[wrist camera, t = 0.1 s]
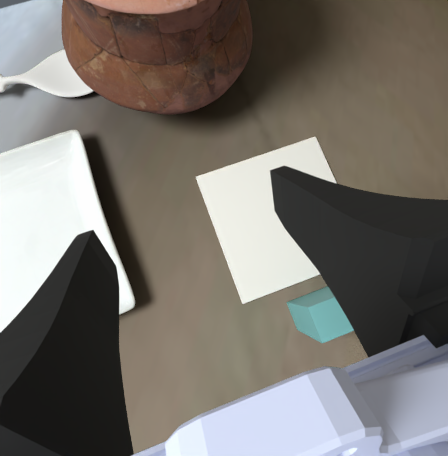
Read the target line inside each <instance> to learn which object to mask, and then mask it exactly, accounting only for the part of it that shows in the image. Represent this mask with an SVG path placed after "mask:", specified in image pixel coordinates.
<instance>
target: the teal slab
mask: <svg viewBox="0 0 448 456" xmlns="http://www.w3.org/2000/svg"><path fill="white" fill-rule="evenodd" d="M287 305H288V307H289V310H290V312H291V315H292V317H293V320H294V323H295V325H296V328H297V330H299V331H301V332H302V333H304V334H306V335H308V336H310V337H312V338H313V339H315V340H317V341H319V342H321V343H325V342H327V341H329V340H332V339H334V338H337V337H339V336H342V335H344V334H347V333H349V332H351V331H354V329H353V328H352V326H351V324H350V322H349V320H348V319H347V317H346V315H345V313H344V312H343V310H342V308H341V307H340V305H339V303H338V302H337V300H336V298H335V297H334V295H333V293H332V292H331V290H330V288H329V287H328V286H327V287H325V288H322V289H320V290H317V291H314V292H312V293H309V294H307V295H304V296H302V297H299V298H296V299H294V300H291V301H289V302H287Z"/></svg>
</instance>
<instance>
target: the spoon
mask: <svg viewBox="0 0 448 456" xmlns="http://www.w3.org/2000/svg"><path fill="white" fill-rule="evenodd" d="M17 83H23V84H28V85H32V86H34V87H36V88H39V89H41V90H43V91H45V92H48V93H50V94H53V95H57V96H61V97H77V96H83V95H86V94H89V93H91V92H93V90H92V89H91V88H90V87H88V86H87V85H86V84H85V83H84V82H83V81H82V80H81V79H80V77H79V76H78V75H77V74H76V72H75V71H74V69H73V68H72V66H71V65H70V63H69V61H68V58H67V56H66V52H65V49H63V50H60V51H58V52H56V53H54V54H52V55H50V56H49V57H47V58H46V59H45V60H44V61H42V62H41V63H40V64H38V65H37V66H35V67H34V68H33V69H31V70H30V71H28V72H26V73H24V74H20V75H16V76H10V77H3V76H2V75H1V74H0V93H1V92H4V91H5V90H6V87H7V86H9V85H11V84H17Z"/></svg>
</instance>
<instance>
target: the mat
mask: <svg viewBox="0 0 448 456" xmlns="http://www.w3.org/2000/svg"><path fill="white" fill-rule="evenodd" d="M281 166H287V167H290V168H293V169H296V170H299V171H302V172H304V173H307V174H310V175H313V176H315V177H318V178H321V179H324V180H327V181H330V182H333V183H336V181H335V178H334V176H333V174H332V172H331V170H330V167H329V165H328V163H327V161H326V159H325V156H324V154H323V152H322V150H321V148H320V145H319V143H318V141H317V139H316V137H313V138H310V139H307V140H304V141H301V142H298V143H295V144H292V145H289V146H286V147H283V148H280V149H277V150H274V151H271V152H268V153H265V154H262V155H259V156H256V157H253V158H250V159H247V160H244V161H241V162H239V163H236V164H233V165H230V166H227V167H224V168H221V169H218V170H215V171H212V172H209V173H206V174H203V175H200V176H197V177H196V179H197V182H198V185H199V187H200V190H201V193H202V196H203V198H204V201H205V204H206V206H207V209H208V212H209V214H210V217H211V220H212V223H213V225H214V228H215V231H216V233H217V236H218V239H219V242H220V244H221V247H222V250H223V252H224V255H225V258H226V261H227V263H228V266H229V269H230V271H231V274H232V277H233V280H234V282H235V285H236V288H237V290H238V293H239V296H240V298H241V301H242V304H244V303H247V302H249V301H252V300H255V299H257V298H260V297H262V296H265V295H268V294H270V293H273V292H275V291H278V290H281V289H283V288H286V287H288V286H291V285H294V284H296V283H299V282H301V281H304V280H307V279H309V278H312V277H314V276H317V275H320V273H319V271H318V270H317V269H316V267H315V266H314V265H313V263H312V262H311V261H310V260H309V258H308V257H307V256H306V255H305V253H304V252H303V251H302V250H301V248H300V247H299V246H298V245H297V243H296V242H295V241H294V240H293V238H292V237H291V236H290V235H289V233H288V232H287V231H286V229H285V228H284V226H283V225H282V223H281V221H280V219H279V218H278V216H277V214H276V212H275V210H274V202H273V193H272V184H271V176H270V170H272V169H275V168H278V167H281ZM336 184H337V183H336Z"/></svg>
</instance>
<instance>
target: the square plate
mask: <svg viewBox="0 0 448 456" xmlns="http://www.w3.org/2000/svg"><path fill="white" fill-rule="evenodd" d="M90 230H94V232H95V233H96V235H97V236H98V238H99V239H100V241H101V243H102V244H103V246H104V247H105V249H106V251H107V252H108V254H109V255H110V257H111V258H112V260H113V262H114V263H115V265H116V267H117V274H118V281H119V315H120V314H122V313H125V312H127V311H129V310H131V309H132V308H134V306H135V299H134V295H133V291H132V288H131V285H130V283H129V280H128V277H127V274H126V272H125V269H124V267H123V264H122V262H121V259H120V256H119V254H118V251H117V249H116V246H115V244H114V241H113V238H112V235H111V233H110V230H109V227H108V224H107V222H106V219H105V216H104V213H103V210H102V207H101V203H100V200H99V197H98V194H97V190H96V187H95V183H94V179H93V176H92V172H91V168H90V164H89V161H88V157H87V153H86V149H85V146H84V143H83V140H82V137H81V135H80V133H79V132H78V131H77V130H70V131H66V132H63V133H60V134H57V135H54V136H51V137H48V138H45V139H42V140H39V141H36V142H33V143H30V144H27V145H24V146H21V147H18V148H15V149H12V150H9V151H6V152H3V153H0V332H1V331H2V330H3V329H4V328H5V327H7V325H8V324H9V323H10V322H11V321H12V320H13V319H14V318H15V317H16V316H17V315H18V314H19V312H20V311H21V310H22V309H23V308H24V307H25V306H26V304H27V303H28V302H29V301H30V300H31V298H32V297H33V296H34V295H35V293H36V292H37V291H38V289H39V288H40V287H41V285H42V284H43V283H44V281H45V280H46V279H47V277H48V276H49V275H50V273H51V272H52V270H53V269H54V268H55V266H56V265H57V263H58V262H59V260H60V259H61V257H62V256H63V254H64V253H65V251H66V250H67V248H68V247H69V246H70V244H71V243H72V241H73V240H74V238H75V237H76V236H77V235H78V234H81V233H84V232H87V231H90Z"/></svg>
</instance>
